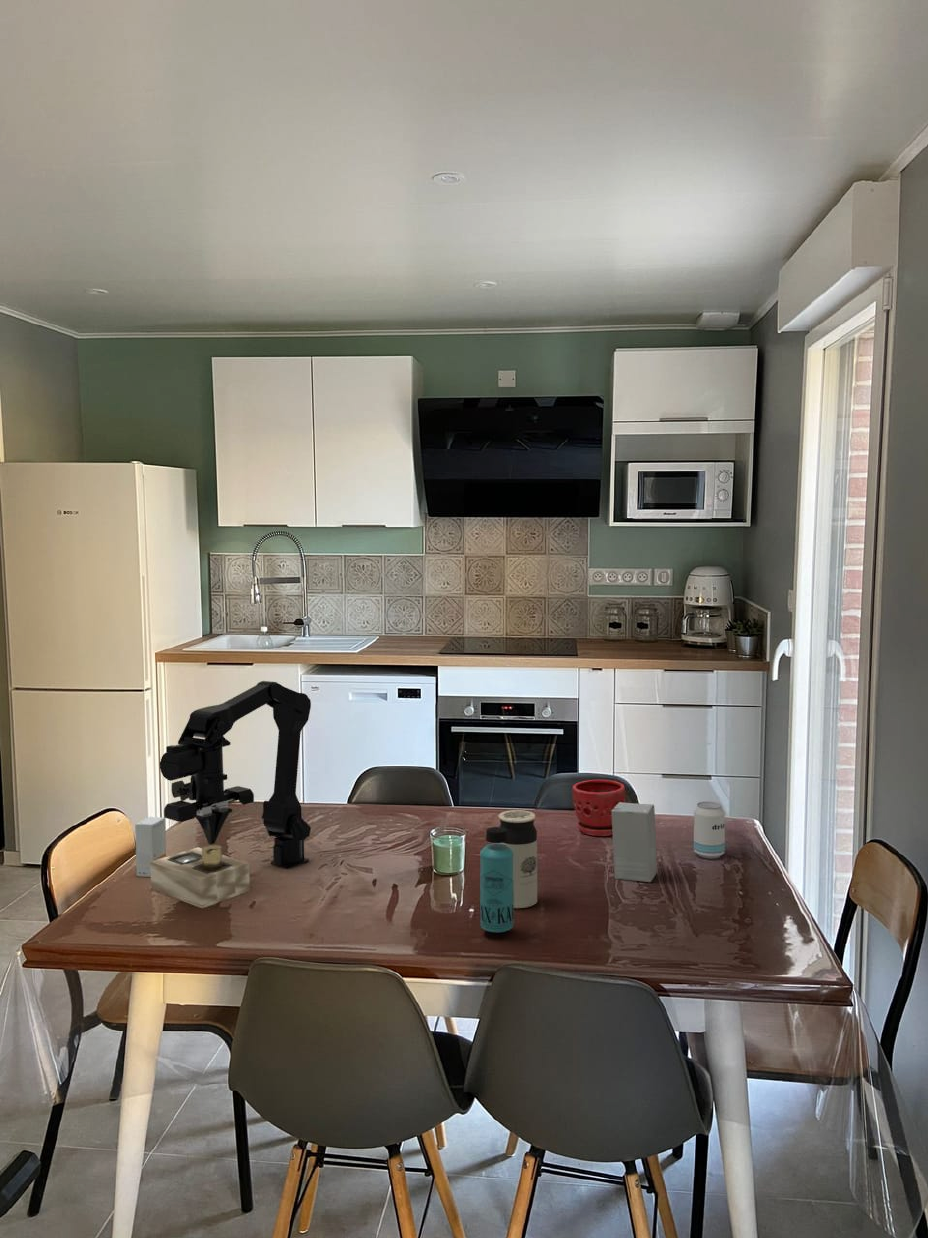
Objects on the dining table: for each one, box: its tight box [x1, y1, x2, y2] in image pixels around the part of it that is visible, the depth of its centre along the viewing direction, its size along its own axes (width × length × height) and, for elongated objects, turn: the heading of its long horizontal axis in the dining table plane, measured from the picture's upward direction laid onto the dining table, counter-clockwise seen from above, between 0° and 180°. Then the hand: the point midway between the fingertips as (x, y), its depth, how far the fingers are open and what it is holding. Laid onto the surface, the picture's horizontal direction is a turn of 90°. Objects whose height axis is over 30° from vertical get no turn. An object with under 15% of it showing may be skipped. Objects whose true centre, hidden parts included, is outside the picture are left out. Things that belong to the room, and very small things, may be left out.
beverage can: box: [693, 801, 726, 860], centre depth 214 cm, size 7×7×12 cm
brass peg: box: [202, 844, 223, 872], centre depth 193 cm, size 4×4×5 cm
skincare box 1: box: [134, 816, 167, 878], centre depth 208 cm, size 6×4×12 cm
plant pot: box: [572, 779, 626, 837], centre depth 234 cm, size 13×13×12 cm
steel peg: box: [177, 856, 197, 863], centre depth 199 cm, size 4×4×5 cm
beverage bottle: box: [478, 826, 515, 933], centre depth 172 cm, size 6×7×20 cm
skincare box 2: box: [611, 802, 658, 883], centre depth 201 cm, size 8×7×16 cm
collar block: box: [150, 846, 251, 909], centre depth 197 cm, size 12×18×6 cm, turn 51°
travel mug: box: [497, 809, 538, 909], centre depth 187 cm, size 8×8×18 cm
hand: (211, 843), depth 193 cm, fingers closed
